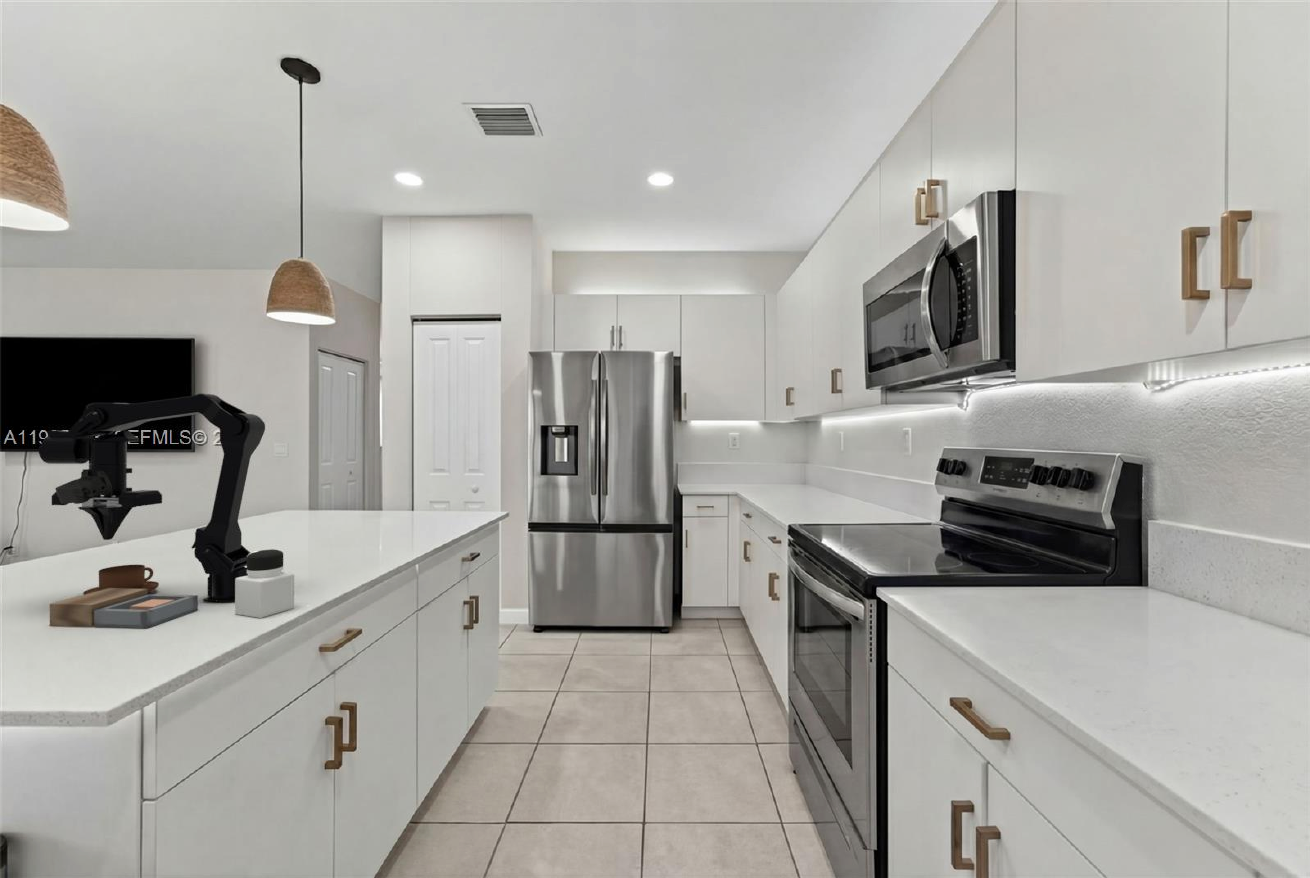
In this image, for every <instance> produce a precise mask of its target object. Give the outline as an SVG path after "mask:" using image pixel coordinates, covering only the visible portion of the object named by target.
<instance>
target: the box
mask: <svg viewBox="0 0 1310 878" xmlns="http://www.w3.org/2000/svg"><path fill="white" fill-rule="evenodd" d="M151 599H158V600H175V601H172V602H169V603H166V604H163V605H160V606H157V607H154V608H151V609H148V610H134V609H130V606H132V605H136V604H139V603H142V602H145V601H148V600H151ZM198 601H199V595H197V594H167V593H166V594H162V593H161V594H160V593H159V594H158V593H148V595H145V596H142V597H138V598H135V599H131V600H128V601H125V602H121V603H118V604H115V605H111V606H108V607H104V608H101V609H98V610H94V626H93V627H94V628H106V629H107V628H111V629H112V628H113V629H117V628H118V629H142V630H143V629H144V630H145V629H150V628H153V627H155V626H158V625H161V624H163V623H167V622H169V621H172V620H175V619H177V618H180V617H183V616H186V615H188V614H191V613H194V612H197V611H198V610H199V602H198Z"/></svg>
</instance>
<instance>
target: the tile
mask: <svg viewBox="0 0 1310 878" xmlns="http://www.w3.org/2000/svg"><path fill="white" fill-rule="evenodd" d="M172 601H175V600H158V599H151V600H148V601H145V602H142V603H139V604H136V605H132V606H130V609H134V610H148V609H151V608H154V607H157V606H160V605H163V604H166V603H169V602H172Z"/></svg>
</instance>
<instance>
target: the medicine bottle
mask: <svg viewBox="0 0 1310 878" xmlns="http://www.w3.org/2000/svg"><path fill="white" fill-rule="evenodd" d="M246 568H247V574H248V575H247V576H243V577H238V578H236V579H235V601H234V613H235V615H238V616H244V617H250V618H251V617H252V618H257V619H262V618H267V617H270V616H272V615H277V614H279V613H282V612H283V613H284V612H285V611H290V610H292V609H294V607H295V573H293V572H286V571H285V572H284V571H283V570H284V552H283V551H282V550H278V549H273V548H272V549H270V548H269V549H259V550H255V551H252V552H250V554H248V556H247V566H246Z"/></svg>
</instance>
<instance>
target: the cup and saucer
mask: <svg viewBox="0 0 1310 878" xmlns="http://www.w3.org/2000/svg"><path fill="white" fill-rule="evenodd" d="M145 571H148V572H149V575H148V576H147V577H145V575H146V574H145ZM153 575H154V570H153V568H151V567H146V566H145V565H144V564H123V565H115V566H109V567H105V568H102V569H101V568H100V569H99V570H98V586H96V587H92V588H89V589H87V590H85V591H83V593H82V595H85V594H89V593H93V592H96V591H100V590H104V589H108V588H129V589H148V594H151V592H154V591H155V590H156V589H157V588H159V585H160V584H159V582H157V581H151V579H152V578H153Z"/></svg>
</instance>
